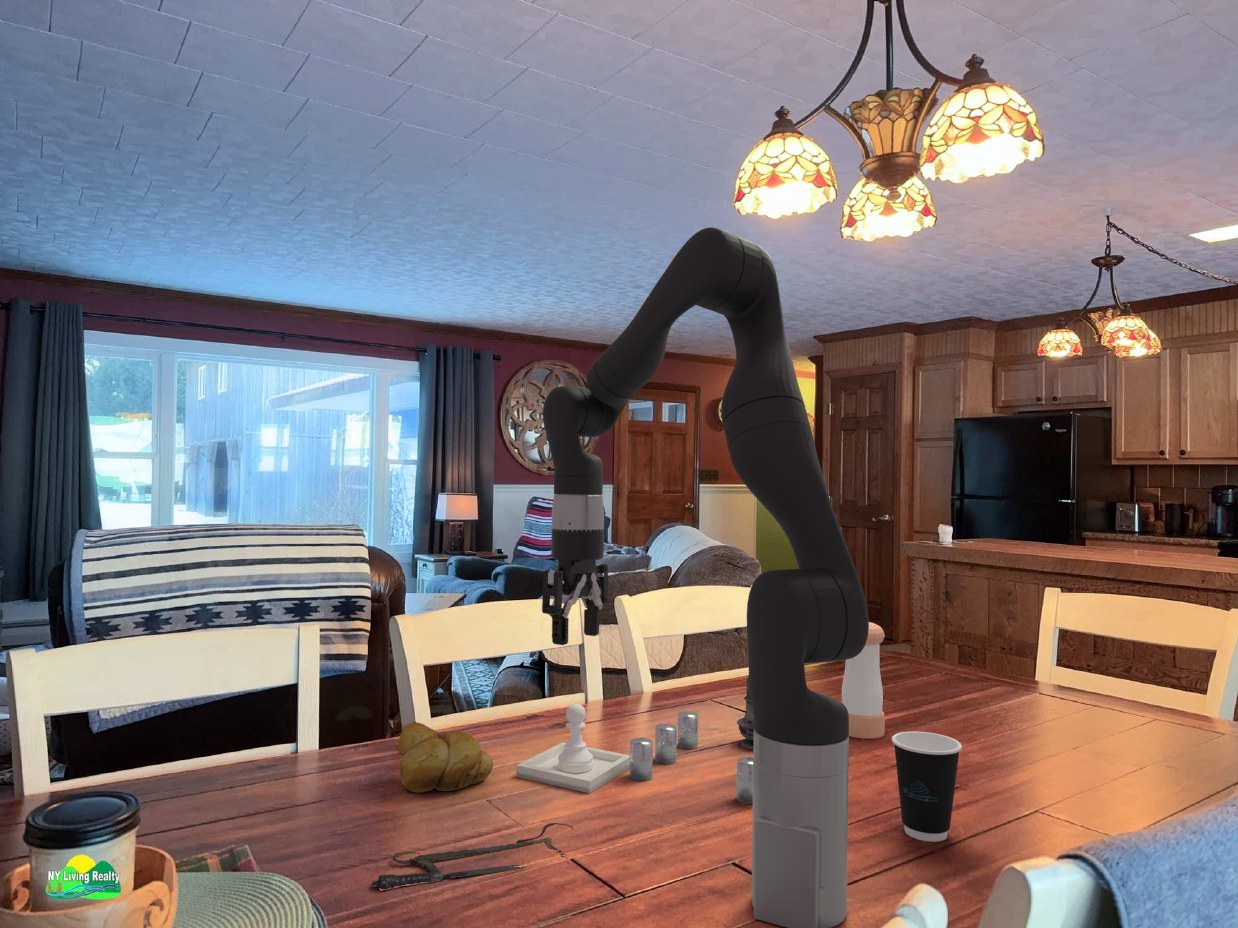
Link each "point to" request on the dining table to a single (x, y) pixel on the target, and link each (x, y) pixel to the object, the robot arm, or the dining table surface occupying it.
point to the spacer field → (686, 740)
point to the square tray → (549, 773)
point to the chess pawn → (575, 744)
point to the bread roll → (440, 759)
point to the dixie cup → (926, 782)
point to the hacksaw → (434, 873)
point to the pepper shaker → (865, 689)
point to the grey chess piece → (747, 724)
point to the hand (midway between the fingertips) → (576, 639)
